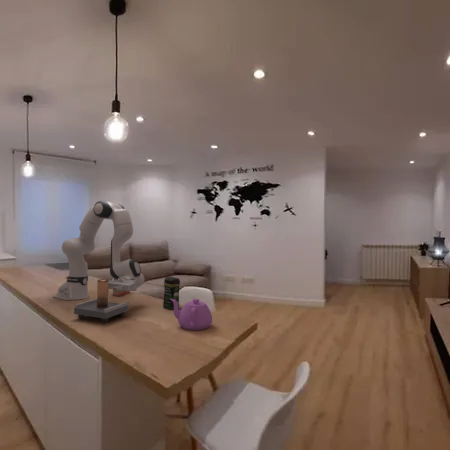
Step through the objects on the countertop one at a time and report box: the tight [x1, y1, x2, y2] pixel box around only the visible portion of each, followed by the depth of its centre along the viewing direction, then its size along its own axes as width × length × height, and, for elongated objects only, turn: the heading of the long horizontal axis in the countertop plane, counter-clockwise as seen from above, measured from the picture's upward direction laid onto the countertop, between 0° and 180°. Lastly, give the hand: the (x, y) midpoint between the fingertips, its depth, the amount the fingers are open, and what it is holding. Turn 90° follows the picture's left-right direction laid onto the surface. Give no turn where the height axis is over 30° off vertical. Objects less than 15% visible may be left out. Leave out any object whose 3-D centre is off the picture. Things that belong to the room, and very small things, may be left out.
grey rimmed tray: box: [73, 298, 129, 324], centre depth 177 cm, size 20×18×7 cm
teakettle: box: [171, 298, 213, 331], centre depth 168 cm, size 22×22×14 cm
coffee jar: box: [162, 276, 181, 310], centre depth 202 cm, size 10×8×19 cm
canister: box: [96, 278, 110, 308], centre depth 176 cm, size 6×6×14 cm
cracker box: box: [112, 278, 131, 297], centre depth 233 cm, size 14×6×21 cm, turn 168°
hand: (108, 287), depth 181 cm, fingers open, 8 cm apart
